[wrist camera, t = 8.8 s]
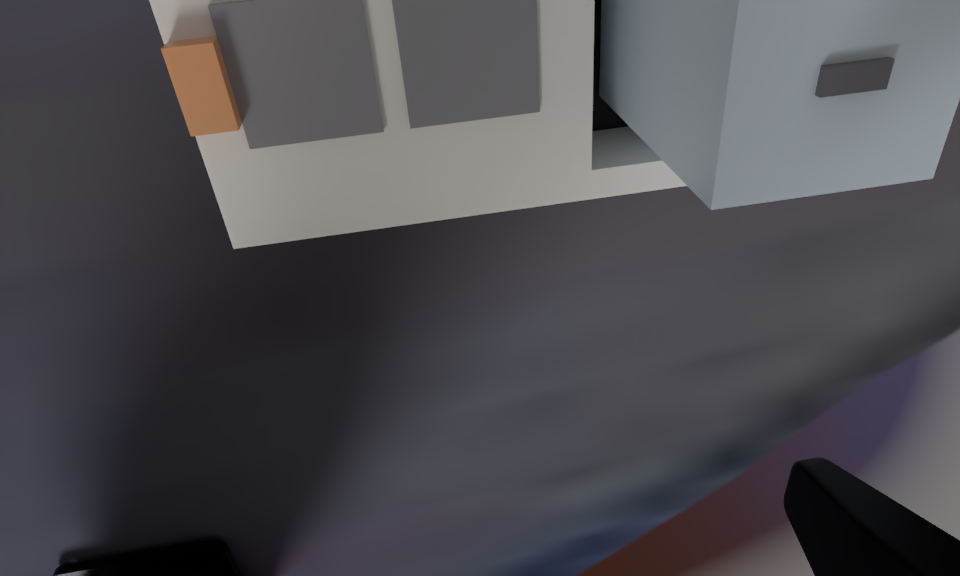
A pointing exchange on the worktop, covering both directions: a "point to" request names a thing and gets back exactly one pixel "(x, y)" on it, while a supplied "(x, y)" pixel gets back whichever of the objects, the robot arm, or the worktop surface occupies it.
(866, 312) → the worktop surface
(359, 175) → the power strip
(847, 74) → the box
